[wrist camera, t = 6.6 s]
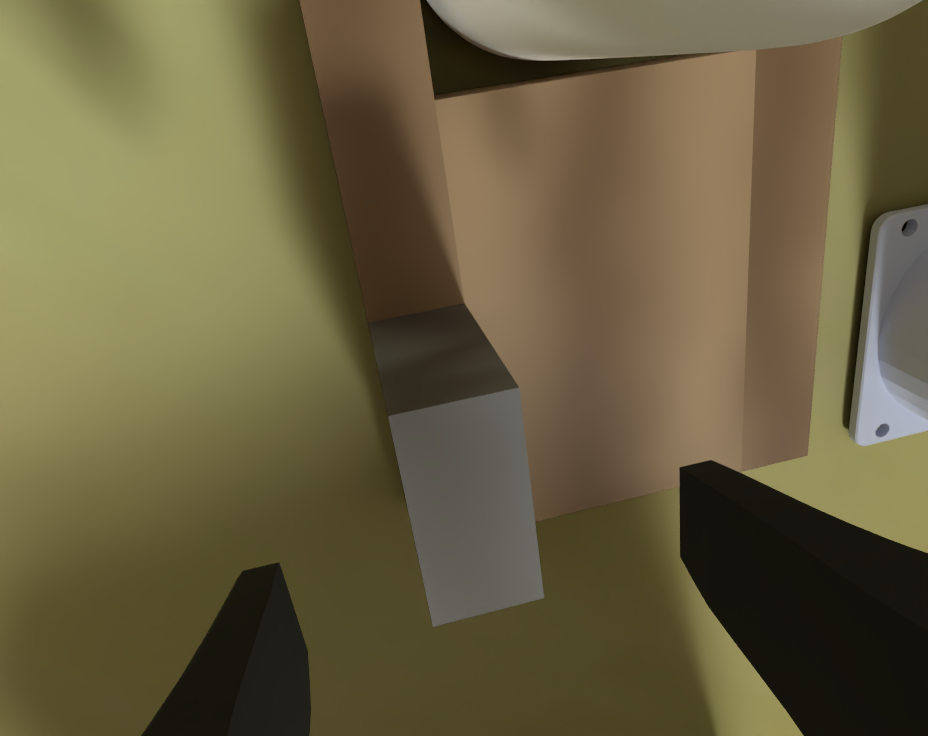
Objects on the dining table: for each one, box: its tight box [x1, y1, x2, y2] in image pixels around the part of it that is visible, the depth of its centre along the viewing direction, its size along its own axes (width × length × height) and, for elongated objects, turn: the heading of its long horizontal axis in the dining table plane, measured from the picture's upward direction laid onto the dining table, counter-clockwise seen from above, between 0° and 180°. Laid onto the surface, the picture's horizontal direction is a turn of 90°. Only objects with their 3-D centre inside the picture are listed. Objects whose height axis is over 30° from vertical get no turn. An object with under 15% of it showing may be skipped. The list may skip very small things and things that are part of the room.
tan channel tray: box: [300, 0, 842, 627], centre depth 15 cm, size 12×21×7 cm, turn 8°
